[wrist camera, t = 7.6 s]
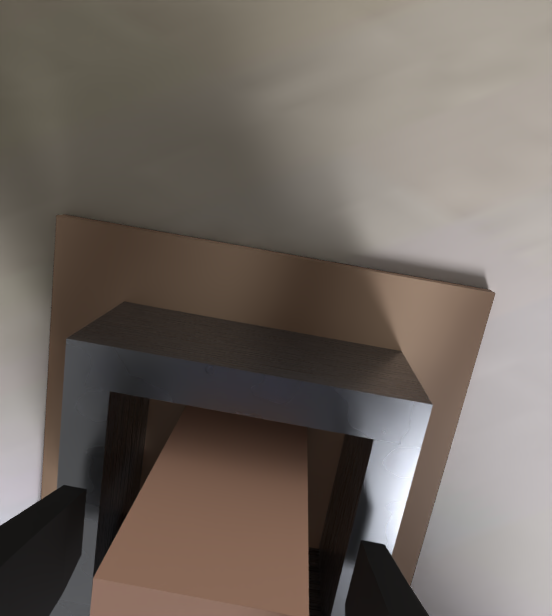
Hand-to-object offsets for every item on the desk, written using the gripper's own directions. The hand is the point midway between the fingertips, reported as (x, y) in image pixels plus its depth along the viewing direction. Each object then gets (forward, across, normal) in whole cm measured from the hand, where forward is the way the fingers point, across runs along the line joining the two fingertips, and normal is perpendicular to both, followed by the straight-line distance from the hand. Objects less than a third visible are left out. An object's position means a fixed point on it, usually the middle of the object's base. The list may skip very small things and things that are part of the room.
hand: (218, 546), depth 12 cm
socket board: (+5, 0, 0) cm, 5 cm away
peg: (+5, 0, 0) cm, 5 cm away
